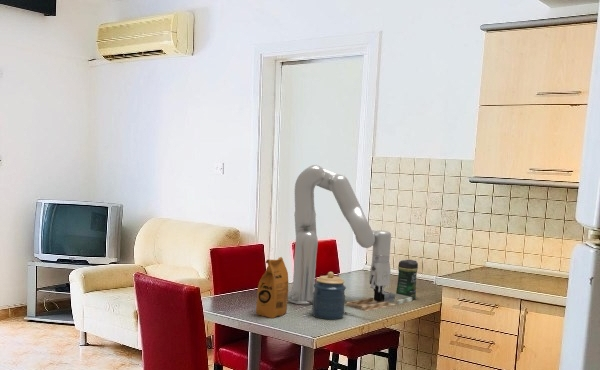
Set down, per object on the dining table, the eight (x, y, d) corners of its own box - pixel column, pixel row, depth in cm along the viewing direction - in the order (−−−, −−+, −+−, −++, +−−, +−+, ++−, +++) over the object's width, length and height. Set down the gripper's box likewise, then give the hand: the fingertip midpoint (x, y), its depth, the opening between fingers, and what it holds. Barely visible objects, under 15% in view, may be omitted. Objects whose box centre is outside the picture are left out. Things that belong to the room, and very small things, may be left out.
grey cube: (388, 301, 248) (391, 292, 249) (381, 299, 250) (383, 291, 251) (393, 303, 250) (395, 295, 251) (385, 302, 253) (388, 293, 254)
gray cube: (383, 303, 245) (384, 294, 245) (376, 301, 247) (377, 292, 247) (389, 302, 247) (389, 293, 247) (381, 300, 250) (382, 291, 250)
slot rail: (366, 314, 228) (366, 307, 228) (343, 308, 237) (343, 301, 237) (412, 304, 255) (412, 297, 255) (390, 298, 263) (390, 292, 263)
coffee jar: (407, 301, 259) (410, 261, 259) (393, 298, 264) (395, 259, 264) (418, 299, 266) (421, 260, 266) (403, 295, 272) (406, 257, 271)
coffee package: (251, 314, 216) (255, 258, 216) (269, 309, 227) (273, 255, 227) (272, 319, 211) (276, 261, 211) (290, 313, 222) (294, 258, 221)
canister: (324, 309, 232) (327, 267, 232) (350, 316, 224) (353, 272, 223) (305, 314, 222) (308, 270, 222) (331, 321, 214) (334, 275, 213)
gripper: (377, 261, 236) (374, 304, 236) (397, 259, 247) (394, 300, 247) (363, 258, 241) (360, 301, 242) (383, 256, 252) (380, 297, 252)
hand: (377, 300), depth 244 cm, fingers closed
